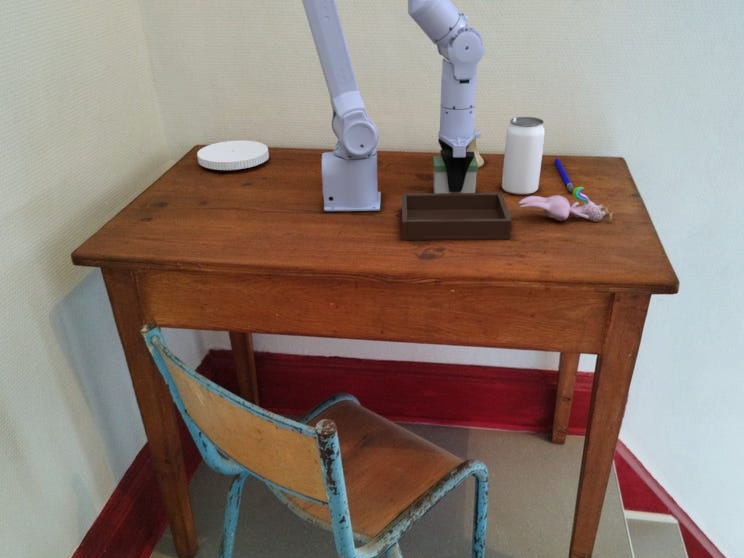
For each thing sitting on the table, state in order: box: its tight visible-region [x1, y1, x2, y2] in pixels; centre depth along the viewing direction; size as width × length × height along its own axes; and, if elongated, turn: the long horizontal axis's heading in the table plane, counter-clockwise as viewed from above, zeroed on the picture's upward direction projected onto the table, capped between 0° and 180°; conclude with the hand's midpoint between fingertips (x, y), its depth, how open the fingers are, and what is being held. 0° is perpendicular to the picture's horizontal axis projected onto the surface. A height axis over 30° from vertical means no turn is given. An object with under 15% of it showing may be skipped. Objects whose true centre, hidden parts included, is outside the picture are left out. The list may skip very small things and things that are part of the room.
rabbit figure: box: [518, 186, 614, 223], centre depth 106 cm, size 6×6×15 cm
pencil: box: [554, 158, 575, 193], centre depth 123 cm, size 17×1×1 cm, turn 177°
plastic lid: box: [196, 139, 270, 171], centre depth 133 cm, size 14×14×2 cm
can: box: [501, 116, 546, 196], centre depth 115 cm, size 6×6×12 cm
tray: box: [401, 192, 512, 241], centre depth 106 cm, size 17×12×3 cm
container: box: [432, 155, 479, 193], centre depth 116 cm, size 7×5×6 cm
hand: (454, 185), depth 117 cm, fingers closed on container, 5 cm apart
